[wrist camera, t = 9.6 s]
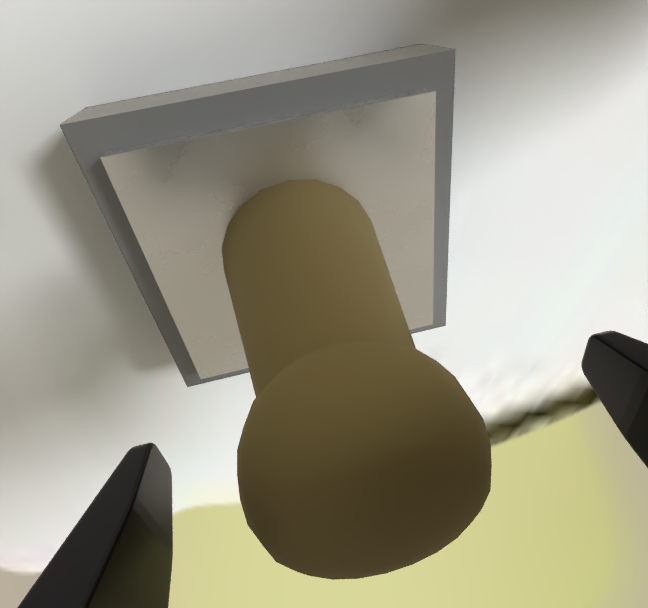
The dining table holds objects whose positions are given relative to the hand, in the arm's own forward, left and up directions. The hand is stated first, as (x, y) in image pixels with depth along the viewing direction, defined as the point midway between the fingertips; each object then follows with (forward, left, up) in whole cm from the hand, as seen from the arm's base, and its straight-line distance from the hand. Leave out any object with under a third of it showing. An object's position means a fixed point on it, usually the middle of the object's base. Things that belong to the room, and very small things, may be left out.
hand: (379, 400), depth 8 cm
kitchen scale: (+1, +1, -13) cm, 13 cm away
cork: (+1, +1, -9) cm, 9 cm away
